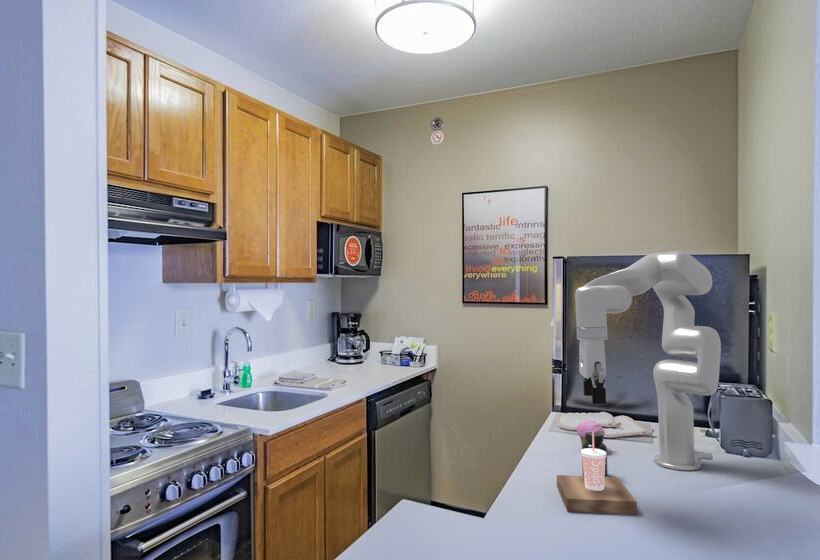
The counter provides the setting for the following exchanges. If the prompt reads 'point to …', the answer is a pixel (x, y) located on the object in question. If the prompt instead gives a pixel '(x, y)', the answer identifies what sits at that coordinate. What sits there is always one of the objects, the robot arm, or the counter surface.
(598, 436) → the supplement bottle
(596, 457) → the beverage cup
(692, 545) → the counter surface
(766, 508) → the counter surface
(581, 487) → the walnut base
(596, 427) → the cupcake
